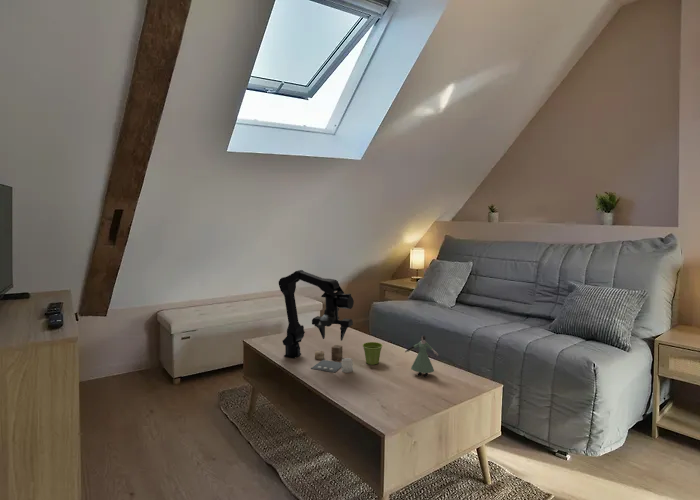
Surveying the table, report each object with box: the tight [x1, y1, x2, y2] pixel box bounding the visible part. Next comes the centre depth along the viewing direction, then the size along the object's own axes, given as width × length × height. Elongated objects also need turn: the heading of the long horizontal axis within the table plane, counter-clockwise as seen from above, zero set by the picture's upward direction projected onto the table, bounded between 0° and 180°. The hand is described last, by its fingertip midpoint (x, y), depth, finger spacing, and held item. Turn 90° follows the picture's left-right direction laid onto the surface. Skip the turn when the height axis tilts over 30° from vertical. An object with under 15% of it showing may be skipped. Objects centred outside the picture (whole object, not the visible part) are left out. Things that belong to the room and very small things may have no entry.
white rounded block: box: [341, 357, 354, 374], centre depth 209 cm, size 5×5×5 cm
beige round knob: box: [314, 350, 325, 361], centre depth 225 cm, size 5×5×3 cm
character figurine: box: [404, 334, 439, 378], centre depth 203 cm, size 16×8×18 cm, turn 59°
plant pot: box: [362, 341, 383, 366], centre depth 219 cm, size 9×9×9 cm
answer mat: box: [310, 359, 342, 373], centre depth 214 cm, size 12×12×1 cm
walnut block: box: [331, 344, 343, 361], centre depth 225 cm, size 4×4×6 cm
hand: (332, 339), depth 217 cm, fingers open, 9 cm apart
